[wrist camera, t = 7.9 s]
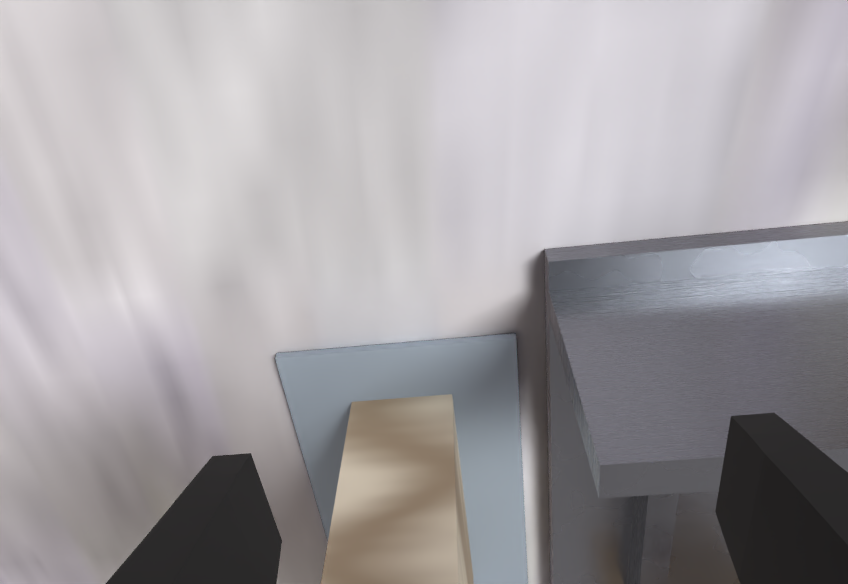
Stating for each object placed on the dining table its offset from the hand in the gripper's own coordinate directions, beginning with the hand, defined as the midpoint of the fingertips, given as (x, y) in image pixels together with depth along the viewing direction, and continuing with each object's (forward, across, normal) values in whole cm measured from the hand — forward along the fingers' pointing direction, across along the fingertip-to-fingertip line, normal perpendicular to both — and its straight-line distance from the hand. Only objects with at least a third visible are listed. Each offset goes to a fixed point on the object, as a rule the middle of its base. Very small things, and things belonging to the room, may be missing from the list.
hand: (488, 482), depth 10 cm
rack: (+10, -8, +14) cm, 19 cm away
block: (+10, +3, +12) cm, 16 cm away
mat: (+10, +3, +12) cm, 16 cm away
